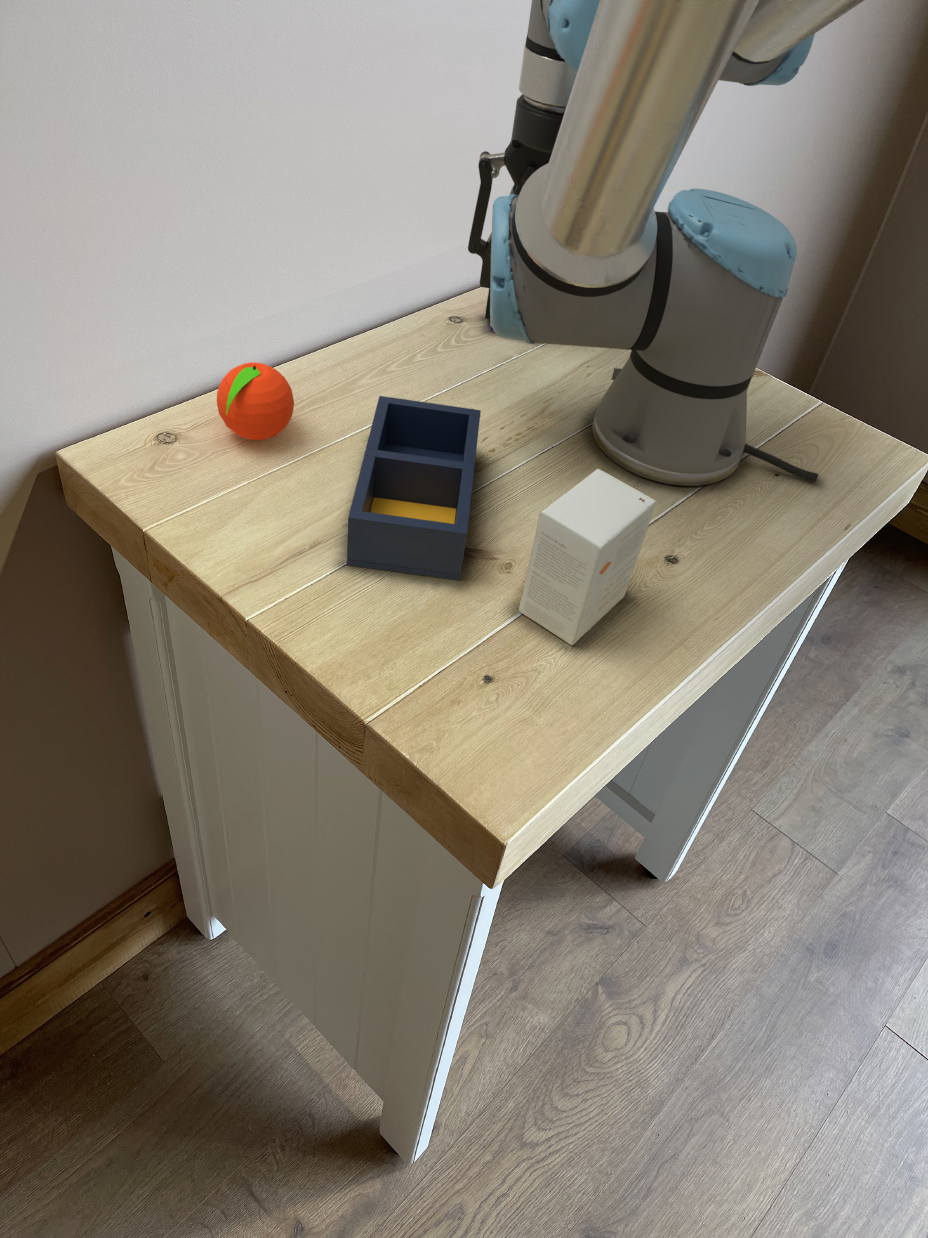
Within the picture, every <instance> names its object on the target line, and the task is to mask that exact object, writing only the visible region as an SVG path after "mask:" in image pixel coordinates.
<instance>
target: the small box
mask: <svg viewBox="0 0 928 1238" xmlns="http://www.w3.org/2000/svg"><path fill="white" fill-rule="evenodd" d="M657 504H658V503H657V500H655V499H653V498H652V497H650V496H648V495H647V494H645V493H643V492H641V491H639V490H638V489H637V488H634V487H632V486H630V485H629V484H627V483H626V482H623V481H621V480H620V479H618V478H616V477H615V476H612V475H611V474H609V473H608V472H606V471H603V470H601V469H600V468H596V469H594V471H592V472H591V473H589V474H588V475H587V476H586V477H584V478H583V479H582V480H580V481H579V482H578V483H576V484H575V485H574V486H572V487H571V488H570V489H569V490H567V491H566V492H565V493H564V494H562V495H561V496H560V497H558V498H557V499H556V500H554V501H553V502H551V503H550V504H549V505H548V506H546V507H545V508H543V510H541V511H539V516H538V520H537V525H536V529H535V530H536V531H535V534H534V539H533V542H532V548H531V552H530V557H529V561H528V566H527V570H526V574H525V579H524V584H523V589H522V591H521V592H522V593H521V597H520V602H519V606H518V612H519V613H521V614H523V615H524V616H526V617H527V618H528V619H530V620H532V621H533V622H535V623H537V624H538V625H540V626H541V627H543V629H546V631H549V632H550V633H552V634H554V636H556V637H558V638H559V639H561V640H562V641H564V642H566V643H567V644H569V645H570V646H574V645H575V644H576V643H578V641H579V640H580V639H581V638H582V637H583V636H584V635H586V634H587V632H588V631H589V630H591V628H593V627H594V626H595V625H596V624H597V623H598V622H599V621H601V619H602V618H603V617H605V615H607V613H609V612H610V611H611V610H612V609H613V608H614V607H615V606H616V605H617V604H618V603H619V602H620V601H621V600H622V599H624V597H625V596H626V593H627V591H628V588H629V584H630V581H631V579H632V576H633V573H634V571H635V567H636V564H637V561H638V558H639V556H640V553H641V549H642V548H643V544H644V540H645V538H646V535H647V533H648V529H649V526H650V523H651V520H652V517H653V514H654V512H655V508H656V505H657Z"/></svg>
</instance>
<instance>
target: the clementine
mask: <svg viewBox="0 0 928 1238" xmlns="http://www.w3.org/2000/svg"><path fill="white" fill-rule="evenodd" d="M216 406H217V410H218V415H219V417H220V418H221V419H222V422H223V423H224V425H225V426H226V428H228V429H229V430H230V431H231V432H233V433H234V435H236V436H239V437H240V438H243V439H247V440H251V441H264V440H268V439H271V438H273V437H276V436H277V435H279V434H280V433H281V432H283V430H285V429H286V427H287V426H288V425H289V423H290V421H291V419H292V417H293V414H294V408H295V400H294V394H293V390H292V388H291V386H290V383H289V381H288V380H287V379H286V377H285V376H284V375H283V374H282V373H281V372H280V371H278V370H277V369H276V368H273V367H272V366H270V365H268V364H265V363H261V362H245V363H241V364H240V365H237V366H235V367H233V368H232V369H230V370H229V371H228V372H227V373H226V374H225V375H224V376H223V378H222V379H221V381H220V384H219V386H218V389H217V391H216Z"/></svg>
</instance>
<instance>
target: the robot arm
mask: <svg viewBox="0 0 928 1238" xmlns="http://www.w3.org/2000/svg"><path fill="white" fill-rule="evenodd" d="M863 2H865V0H531V5H530V11H529V18H528V26H527V32H526V33H527V34H526V38H525V44H524V49H523V55H522V62H521V69H520V76H519V83H518V91H519V92H520V94H521V95H520V96H519V97H518V98H517V99H516V104H515V111H514V117H513V125H512V130H511V131H512V132H511V138H510V141H509V144H508V145H507V147H506V148H505V150H504V152H499V153H492V154H491V153H490V152H489V151H487V150H485V151H482V152H481V153H480V155H479V159H478V174H479V180H480V181H479V182H480V184H479V189H478V192H477V199H476V203H475V208H474V213H473V218H472V224H471V229H470V233H469V238H468V245H467V250H468V253H470V254H472V255H477V256H479V257H480V258H481V260H482V261H481V262H482V263H481V270H480V277H479V285H480V288H485V289H488V293H487V299H486V306H485V314H484V320H489V322H491V326H492V329H493V330H494V333H495V334H496V335H497V336H499V337H500V338H502V339H505V340H506V339H507V340H514V341H520V342H525V343H527V344H529V345H534V344H544V345H559V346H570V347H571V346H572V347H573V346H574V347H586V348H598V349H599V348H600V349H615V350H626V351H630V353H629V357H628V359H627V361H626V362H625V363H624V365H623V367H622V368H619V367H614V368H613V371H612V375H611V379H610V380H611V381H612V382H611V384H610V385H609V387H608V389H607V390H606V391H605V393H604V394H603V395H602V398H601V399H600V401H599V403H598V405H597V407H596V410H595V413H594V417H593V418H594V419H593V421H592V427H591V428H592V435H593V438H594V440H595V442H596V444H597V445H598V447H599V448H600V450H601V451H602V452H603V453H604V454H605V455H606V456H607V457H608V458H609V459H611V461H613V462H614V463H616V464H617V465H618V466H620V467H621V468H623V469H625V470H627V471H628V472H631V473H632V474H634V475H637V476H639V477H642V478H644V479H648V480H651V481H655V482H657V483H661V484H666V485H672V486H673V485H674V486H685V487H686V486H687V487H696V486H705V485H711V484H715V483H718V482H720V481H722V480H724V479H726V478H728V477H730V476H731V475H732V474H733V473H734V472H735V471H736V470H737V468H738V467H739V465H740V462H741V459H742V457H743V454H744V453H745V454H747V455H750V456H752V457H754V458H757V459H759V460H761V461H763V462H765V463H767V464H771V465H772V466H775V467H776V468H778V469H781V470H782V471H784V472H787V473H788V474H790V475H793V476H795V477H798V478H800V479H804V480H807V481H811V482H816V483H817V480H818V478H819V473H817V472H813V471H809V470H805V469H803V468H800V467H797V466H796V465H793V464H792V463H789V462H787V461H785V460H783V459H781V458H779V457H777V456H775V455H772V454H771V453H768V452H766V451H765V450H761V449H759V448H757V447H754V446H752V445H749V444H747V443H746V442H747V415H748V414H747V411H748V410H747V409H748V407H747V405H748V390H749V386H750V384H751V381H752V378H753V376H754V374H755V371H756V369H757V367H758V364H759V361H760V359H761V356H762V353H763V351H764V348H765V346H766V343H767V341H768V339H769V335H770V333H771V331H772V328H773V325H774V324H775V321H776V318H777V315H778V312H779V310H780V307H781V305H782V302H783V301H784V298H785V297H786V296H787V295H788V292H789V285H790V281H791V277H792V273H793V270H794V266H795V265H796V260H797V257H798V247H797V246H798V245H797V242H796V240H795V237H794V235H793V233H792V232H791V231H790V230H789V228H788V227H787V226H786V225H785V224H784V223H783V222H782V221H781V220H779V219H778V218H777V217H775V216H774V215H772V214H770V213H769V212H767V211H766V210H765V209H762V208H760V207H759V206H757V205H755V204H752V203H750V202H748V201H746V200H743V199H741V198H739V197H736V196H734V195H730V194H727V193H723V192H720V191H715V190H711V189H705V188H690V189H683V190H680V191H678V192H676V193H675V195H673V197H672V199H671V200H670V201H669V202H668V206H667V211H655V207H656V205H657V202H658V200H659V199H660V196H661V194H662V193H663V190H664V188H665V186H666V185H667V182H668V180H669V178H670V177H671V174H672V172H673V171H674V169H675V166H676V164H677V163H678V161H679V159H680V157H681V155H682V154H683V151H684V150H685V147H686V145H687V143H688V141H689V139H690V137H691V135H692V133H693V131H694V129H695V127H696V125H697V124H698V122H699V120H700V118H701V116H702V113H703V111H704V110H705V108H706V107H707V104H708V101H709V100H710V98H711V96H712V94H713V92H714V90H715V88H716V87H717V84H718V82H719V81H723V82H730V83H738V84H740V85H744V86H747V87H755V86H759V85H761V86H763V85H764V86H782V85H786V84H788V83H790V82H791V81H792V80H793V79H794V78H795V77H796V76H797V74H799V71H800V69H801V67H802V66H803V65H804V64H805V61H806V60H807V59H808V57H809V54H810V51H811V48H812V46H813V42H814V39H815V36H816V33H818V32H819V31H821V30H823V29H824V28H825V27H827V26H828V25H829V24H832V23H833V22H835V21H836V20H838V19H839V18H841V17H842V16H844V15H845V14H847V13H848V12H850V11H851V10H852V9H854V8H856V7H857V6H858V5H860V4H862V3H863ZM503 167H505V168H506V170H507V172H508V174H509V176H510V178H511V180H512V182H513V185H512V187H511V190H510V192H509V194H508V195H501V196H500V195H499V196H498V197H497V198H495V200H494V201H493V204H492V212H491V231H490V233H489V236H488V238H487V240H484V239H482V235H483V231H484V226H485V221H486V216H487V212H488V207H489V202H490V198H491V193H492V186H493V180H494V179H496V178H498V177H499V175H500V172H501V169H502V168H503Z"/></svg>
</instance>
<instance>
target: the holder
mask: <svg viewBox="0 0 928 1238" xmlns="http://www.w3.org/2000/svg"><path fill="white" fill-rule="evenodd" d="M480 421H481V410H480V409H475V408H468V407H461V406H453V405H447V404H440V403H433V402H427V401H419V400H413V399H412V400H411V399H405V398H398V397H392V396H384V395H379V396H378V400H377V405H376V408H375V411H374V415H373V419H372V423H371V427H370V430H369V434H368V439H367V443H366V446H365V450H364V454H363V455H364V456H363V459H362V462H361V466H360V471H359V474H358V478H357V481H356V484H355V485H356V486H355V490H354V493H353V497H352V501H351V505H350V509H349V513H348V516H347V540H346V544H347V545H346V566H352V567H359V568H366V569H373V570H380V571H381V570H382V571H389V572H396V573H402V574H403V573H404V574H410V575H417V576H425V577H431V578H438V579H439V578H440V579H447V580H452V581H453V580H455V581H461V576H462V569H463V562H464V556H465V551H466V543H467V538H468V532H469V531H468V530H469V521H470V512H471V511H470V510H471V503H472V494H473V485H474V475H475V467H476V458H477V449H478V440H479V439H478V438H479V432H480V431H479V428H480Z"/></svg>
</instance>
